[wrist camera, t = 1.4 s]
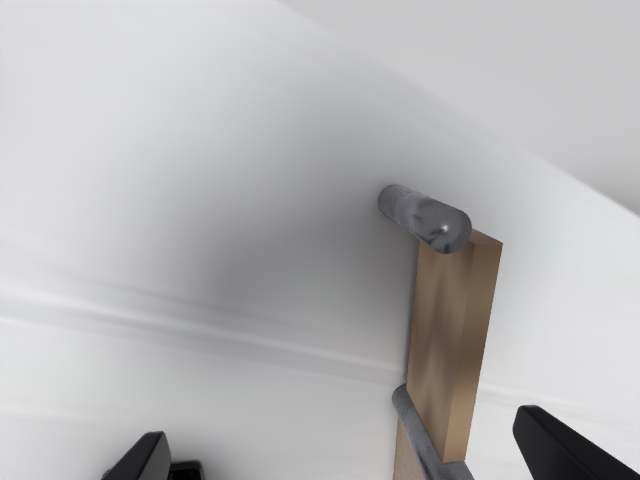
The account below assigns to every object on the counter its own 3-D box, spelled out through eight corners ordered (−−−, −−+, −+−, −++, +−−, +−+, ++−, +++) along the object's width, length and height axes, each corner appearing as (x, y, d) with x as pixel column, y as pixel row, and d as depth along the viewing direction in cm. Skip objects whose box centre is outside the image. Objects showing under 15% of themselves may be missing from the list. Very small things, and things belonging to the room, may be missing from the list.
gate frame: (412, 497, 26) (457, 619, 20) (363, 504, 26) (392, 631, 19) (449, 183, 18) (543, 209, 12) (379, 185, 18) (436, 213, 11)
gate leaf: (423, 387, 22) (464, 460, 17) (406, 388, 22) (442, 463, 17) (442, 214, 18) (502, 242, 13) (422, 214, 18) (475, 244, 13)
